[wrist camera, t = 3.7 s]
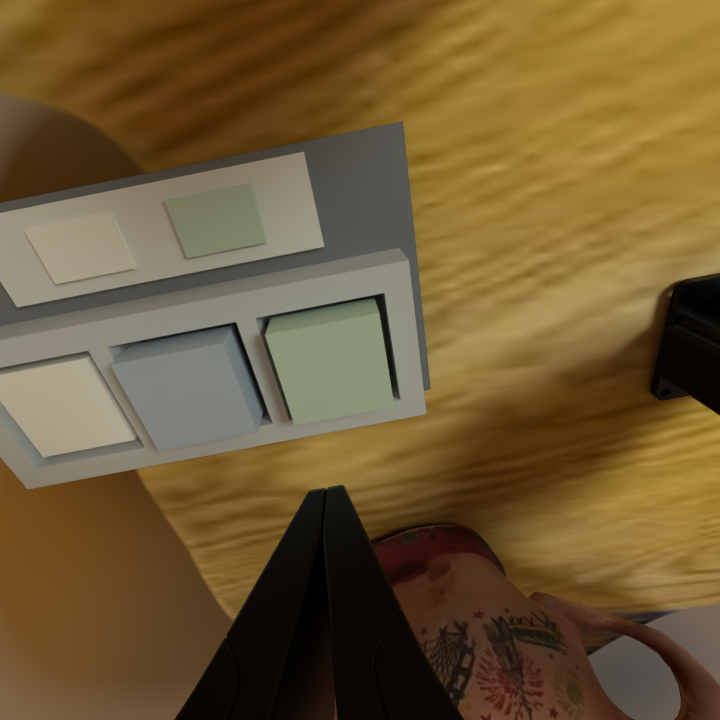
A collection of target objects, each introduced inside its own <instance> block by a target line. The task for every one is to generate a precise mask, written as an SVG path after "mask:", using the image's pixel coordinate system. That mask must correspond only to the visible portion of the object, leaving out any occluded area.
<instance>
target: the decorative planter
mask: <svg viewBox="0 0 720 720" xmlns="http://www.w3.org/2000/svg"><path fill="white" fill-rule="evenodd" d="M373 548H374V550H375V552H376V554H377V556H378V558H379V561H380V563H381V565H382V567H383V569H384V571H385V573H386V575H387V578H388V580H389V582H390V584H391V586H392V588H393V590H394V592H395V595H396V597H397V599H398V601H399V603H400V605H401V608H402V610H403V611H404V613H405V615H406V617H407V620H408V622H409V624H410V626H411V628H412V630H413V632H414V634H415V636H416V638H417V640H418V642H419V644H420V646H421V648H422V650H423V652H424V654H425V655H426V657H427V659H428V661H429V662H430V664H431V666H432V667H433V669H434V671H435V672H436V674H437V676H438V678H439V679H440V681H441V683H442V684H443V686H444V688H445V689H446V691H447V692H448V694H449V696H450V697H451V699H452V700H453V702H454V703H455V705H456V707H457V708H458V710H459V711H460V713H461V715H462V716H463V718H464V719H465V720H634V719H632V718H630V717H629V716H628V715H626V714H625V713H624V712H622V711H621V710H620V709H619V708H618V707H617V706H616V705H615V704H614V703H613V702H612V701H611V700H610V699H609V698H608V696H607V695H606V693H605V692H604V690H603V689H602V687H601V685H600V683H599V682H598V679H597V678H596V675H595V673H594V671H593V668H592V666H591V664H590V662H589V660H588V657H587V655H586V653H585V651H584V649H583V646H582V644H583V641H584V640H585V639H586V638H587V637H589V636H590V635H592V634H593V633H597V632H614V633H619V634H623V635H626V636H629V637H632V638H634V639H636V640H638V641H640V642H641V643H643V644H645V645H646V646H648V647H649V648H651V649H652V650H654V651H655V652H657V653H658V654H659V655H660V656H661V658H662V659H663V660H664V661H665V663H666V664H667V665H668V666H669V667H670V668H671V670H672V672H673V675H674V677H675V679H676V681H677V683H678V687H679V691H680V696H681V707H680V711H679V713H678V716H677V717H676V718H675V720H720V686H719V685H718V683H717V682H716V680H715V679H714V678H713V677H712V676H711V675H710V673H709V672H708V671H707V670H706V669H705V668H704V667H703V666H702V665H701V664H700V663H699V662H698V661H697V660H696V659H695V658H694V657H693V656H692V655H691V654H690V653H689V652H688V651H686V650H685V649H684V648H683V647H681V646H680V645H679V644H677V643H676V642H675V641H674V640H672V639H671V638H670V637H669V636H667V635H666V634H664V633H662V632H661V631H659V630H656V629H654V628H651V627H648V626H645V625H641V624H638V623H632V622H628V621H626V620H624V619H621V618H619V617H617V616H613V615H610V614H607V613H604V612H601V611H598V610H596V609H593V608H590V607H588V606H585V605H582V604H579V603H575V602H571V601H568V600H564V599H561V598H558V597H555V596H552V595H549V594H545V593H542V592H534V593H533V594H532V595H531V596H530V597H528V598H526V597H525V596H524V595H523V594H522V593H521V592H520V591H519V590H518V589H517V588H516V587H515V586H514V585H513V584H512V583H511V582H510V581H509V580H508V579H507V578H506V574H505V570H504V567H503V565H502V564H501V562H500V561H499V559H498V558H497V556H496V555H495V554H494V553H493V551H492V550H491V548H490V547H489V545H488V544H487V543H486V541H485V540H484V539H483V538H482V537H481V536H480V535H478V534H477V533H476V532H475V531H473V530H472V529H469V528H466V527H463V526H459V525H434V526H426V527H419V528H415V529H411V530H408V531H405V532H402V533H400V534H398V535H395V536H392V537H390V538H387V539H385V540H383V541H380V542H378V543H376V544H374V545H373ZM334 720H337V708H336V696H335V716H334Z"/></svg>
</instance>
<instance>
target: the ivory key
mask: <svg viewBox="0 0 720 720" xmlns="http://www.w3.org/2000/svg"><path fill="white" fill-rule="evenodd" d="M0 402H1V403H2V404H3V406H4V407H5V408H6V410H7V411H8V412H9V414H10V415H11V416H12V417H13V419H14V420H15V421H16V423H17V424H18V425H19V427H20V428H21V429H22V430H23V432H24V433H25V434H26V436H27V437H28V438H29V440H30V441H31V442H32V443H33V445H34V446H35V447H36V449H37V450H38V451H39V453H40V454H41V455H42V456H43V457H48V456H53V455H58V454H64V453H69V452H74V451H79V450H85V449H90V448H95V447H101V446H106V445H111V444H116V443H122V442H127V441H132V440H135V439H136V437H137V436H138V435H137V433H136V431H135V429H134V428H133V426H132V424H131V423H130V421H129V419H128V418H127V416H126V414H125V412H124V411H123V409H122V407H121V406H120V404H119V402H118V401H117V399H116V397H115V395H114V394H113V392H112V390H111V389H110V387H109V385H108V384H107V382H106V380H105V378H104V377H103V375H102V373H101V372H100V370H99V368H98V367H97V365H96V363H95V361H94V360H93V358H92V356H91V355H90V353H89V351H84V352H79V353H74V354H69V355H64V356H58V357H53V358H48V359H43V360H38V361H33V362H28V363H22V364H17V365H12V366H7V367H2V368H0Z"/></svg>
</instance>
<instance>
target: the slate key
mask: <svg viewBox="0 0 720 720" xmlns="http://www.w3.org/2000/svg"><path fill="white" fill-rule="evenodd" d="M110 366H111V368H112V370H113V372H114V373H115V375H116V377H117V379H118V380H119V382H120V384H121V386H122V388H123V389H124V391H125V393H126V395H127V396H128V398H129V400H130V402H131V403H132V405H133V407H134V409H135V410H136V412H137V414H138V416H139V417H140V419H141V421H142V423H143V424H144V426H145V428H146V430H147V431H148V433H149V435H150V437H151V439H152V440H153V442H154V444H155V446H156V447H157V449H158V451H164V450H170V449H175V448H180V447H185V446H191V445H196V444H201V443H206V442H212V441H217V440H222V439H228V438H233V437H238V436H243V435H249V434H254V433H258V429H259V425H260V421H261V417H262V413H263V406H262V404H261V401H260V398H259V396H258V393H257V390H256V387H255V385H254V382H253V379H252V377H251V374H250V371H249V368H248V366H247V363H246V360H245V357H244V355H243V352H242V349H241V347H240V344H239V341H238V338H237V336H236V333H235V330H234V328H233V325H231V326H226V327H221V328H216V329H211V330H205V331H200V332H195V333H190V334H185V335H180V336H175V337H170V338H164V339H159V340H154V341H149V342H144V343H139V344H134V345H130V346H129V347H128V348H127V349H126V350H125V351H124V352H123V353H122V354H121V355H120V356H119V357H118V358H117V359H116V360H115V361H114V362H113V363H112V364H111V365H110Z"/></svg>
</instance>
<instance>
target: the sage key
mask: <svg viewBox="0 0 720 720" xmlns="http://www.w3.org/2000/svg"><path fill="white" fill-rule="evenodd" d="M265 337H266V340H267V343H268V346H269V349H270V352H271V355H272V358H273V361H274V364H275V367H276V370H277V373H278V376H279V379H280V382H281V385H282V388H283V392H284V395H285V398H286V401H287V404H288V407H289V410H290V413H291V416H292V419H293V422H294V425H295V426H296V425H301V424H307V423H312V422H317V421H323V420H328V419H333V418H338V417H344V416H349V415H354V414H360V413H365V412H370V411H375V410H381V409H386V408H391V407H395V406H394V400H393V394H392V388H391V382H390V375H389V369H388V363H387V357H386V351H385V345H384V339H383V332H382V326H381V320H380V314H379V310H378V307H377V304H376V301H375V298H370V299H365V300H360V301H354V302H349V303H344V304H339V305H334V306H329V307H324V308H318V309H313V310H308V311H303V312H298V313H293V314H288V315H283V316H277V317H272V318H271V319H270V322H269V325H268V328H267V331H266V334H265Z"/></svg>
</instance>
